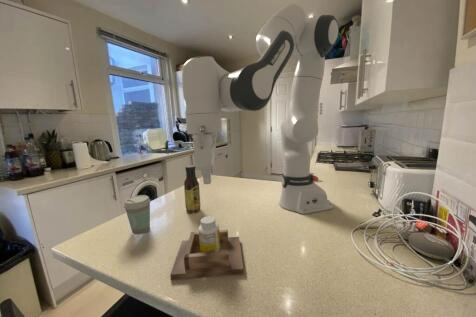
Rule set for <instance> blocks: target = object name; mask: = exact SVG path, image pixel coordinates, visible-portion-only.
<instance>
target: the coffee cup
mask: <svg viewBox="0 0 476 317" xmlns="http://www.w3.org/2000/svg"><path fill="white" fill-rule="evenodd" d="M123 208H124V209H125V212H126V216H127V219H128V223H129V227H130V230H131V232H132V234H133V235H141V234H145V233H146V232H149V231H150V229H151V228H150V227H151V199H150V197H149V196H148V195H146V194H139V195H135V196H130V197H129V198H126V199H125V201H124V204H123Z"/></svg>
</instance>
